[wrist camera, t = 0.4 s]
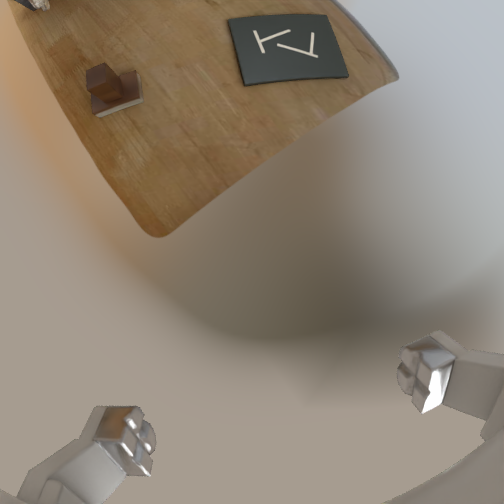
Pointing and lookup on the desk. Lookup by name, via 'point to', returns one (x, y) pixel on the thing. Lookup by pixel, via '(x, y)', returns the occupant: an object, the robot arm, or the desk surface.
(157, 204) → the desk surface
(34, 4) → the cherub figurine
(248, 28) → the chalkboard
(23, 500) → the robot arm
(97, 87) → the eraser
